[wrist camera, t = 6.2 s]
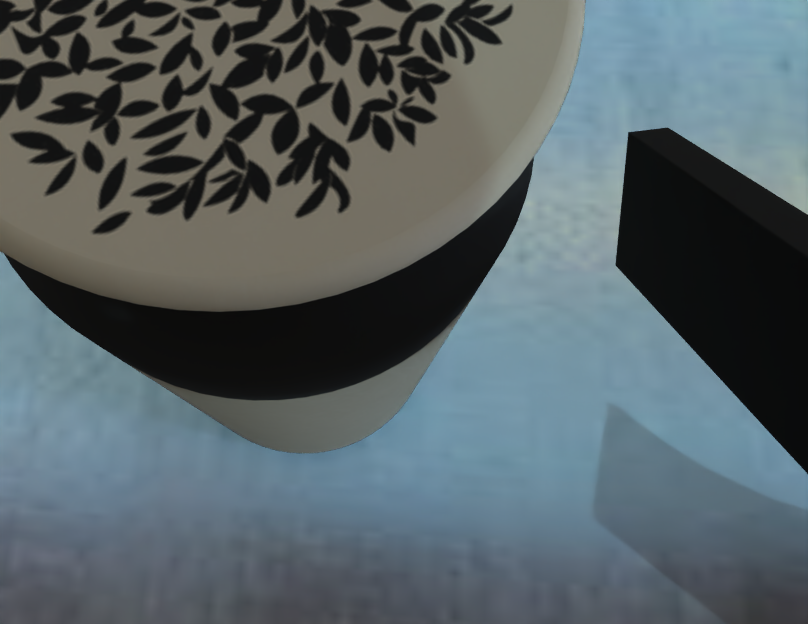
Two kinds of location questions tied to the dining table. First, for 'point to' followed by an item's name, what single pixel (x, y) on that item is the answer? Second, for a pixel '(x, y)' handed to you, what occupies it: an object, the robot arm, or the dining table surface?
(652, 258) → the robot arm
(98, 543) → the dining table surface
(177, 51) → the travel mug
